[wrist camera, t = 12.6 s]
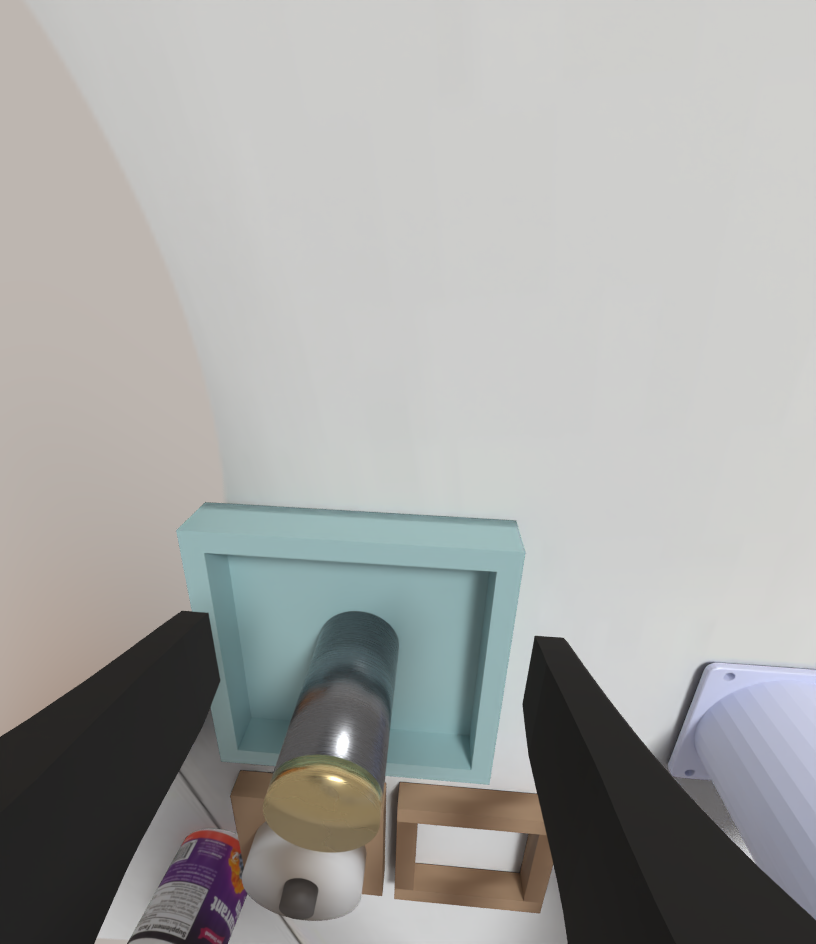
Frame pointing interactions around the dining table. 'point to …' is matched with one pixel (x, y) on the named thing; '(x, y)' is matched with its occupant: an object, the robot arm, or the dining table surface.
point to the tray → (368, 590)
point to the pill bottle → (197, 893)
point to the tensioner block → (362, 870)
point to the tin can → (337, 739)
